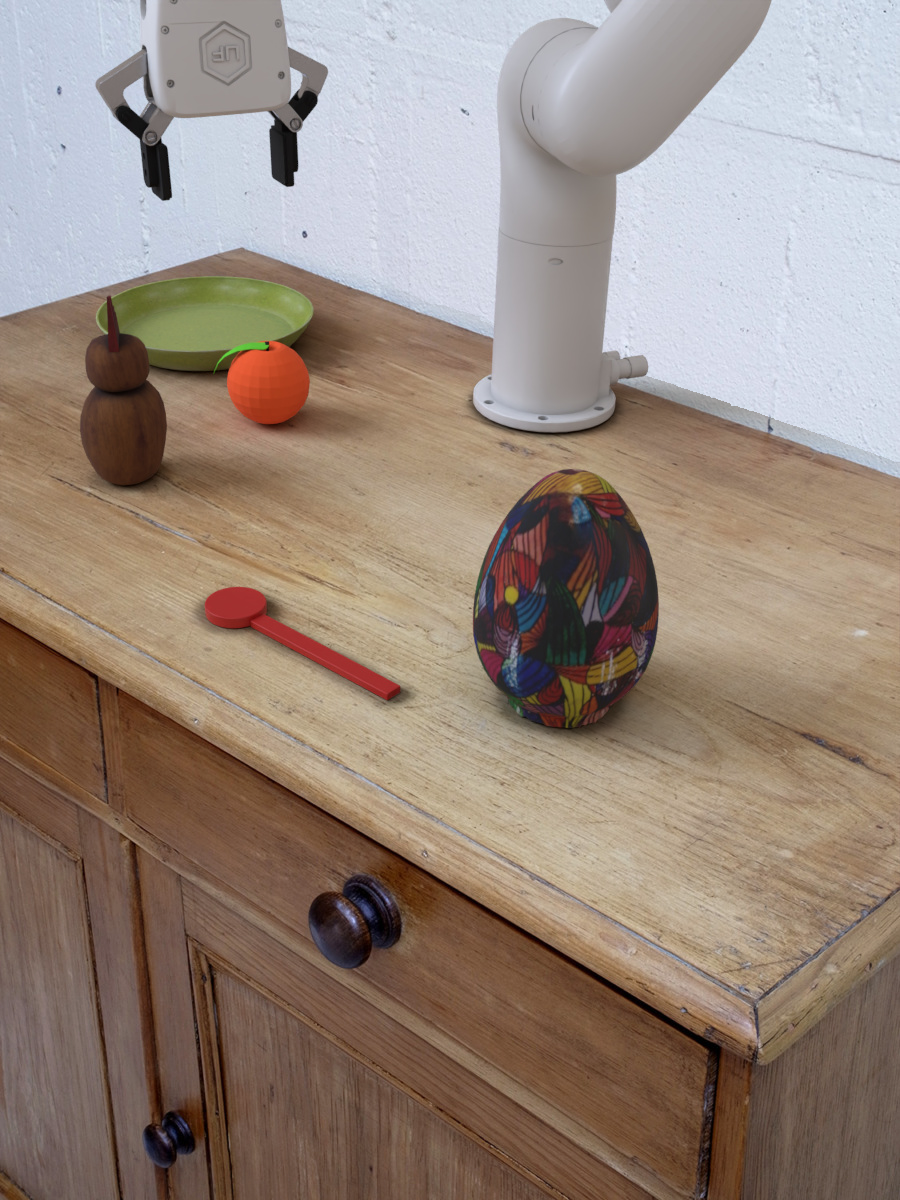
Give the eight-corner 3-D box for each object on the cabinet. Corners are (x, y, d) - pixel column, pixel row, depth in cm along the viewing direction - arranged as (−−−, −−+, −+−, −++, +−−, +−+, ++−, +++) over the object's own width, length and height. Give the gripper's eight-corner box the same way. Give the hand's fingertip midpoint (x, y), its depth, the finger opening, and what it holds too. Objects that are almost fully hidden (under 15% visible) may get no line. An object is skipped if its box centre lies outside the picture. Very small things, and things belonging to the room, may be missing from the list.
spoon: (416, 682, 80) (416, 671, 80) (371, 711, 77) (371, 700, 77) (238, 590, 89) (237, 579, 88) (192, 613, 86) (191, 602, 86)
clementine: (217, 439, 109) (211, 358, 105) (216, 406, 115) (211, 328, 111) (313, 436, 110) (311, 355, 106) (308, 403, 116) (305, 325, 112)
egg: (632, 649, 84) (658, 433, 76) (661, 753, 75) (693, 520, 67) (465, 648, 83) (474, 431, 75) (474, 753, 74) (484, 519, 66)
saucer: (141, 299, 138) (138, 269, 136) (334, 314, 136) (334, 283, 134) (65, 372, 120) (61, 339, 119) (285, 390, 118) (284, 356, 116)
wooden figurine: (147, 498, 100) (127, 307, 92) (76, 489, 100) (50, 299, 93) (181, 461, 105) (164, 277, 97) (113, 453, 106) (92, 270, 98)
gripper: (94, -52, 85) (124, 214, 94) (341, -60, 92) (347, 189, 101) (67, -63, 91) (98, 189, 100) (301, -70, 97) (311, 167, 106)
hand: (223, 189), depth 100 cm, fingers open, 9 cm apart
